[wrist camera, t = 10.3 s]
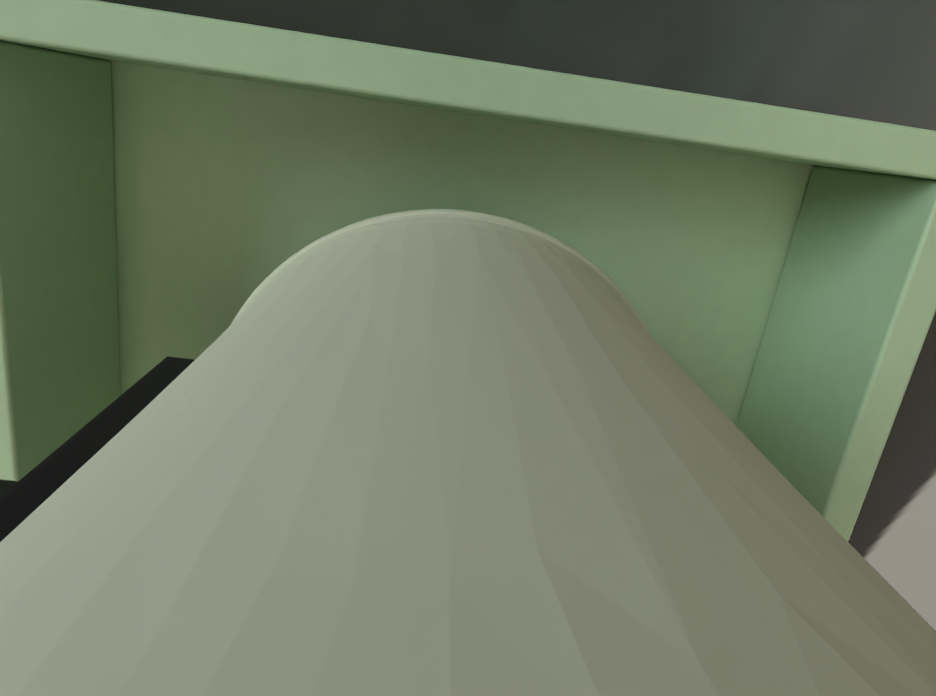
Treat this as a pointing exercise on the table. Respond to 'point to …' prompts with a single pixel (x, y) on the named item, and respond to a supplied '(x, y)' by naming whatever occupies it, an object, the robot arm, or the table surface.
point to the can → (442, 506)
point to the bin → (446, 187)
